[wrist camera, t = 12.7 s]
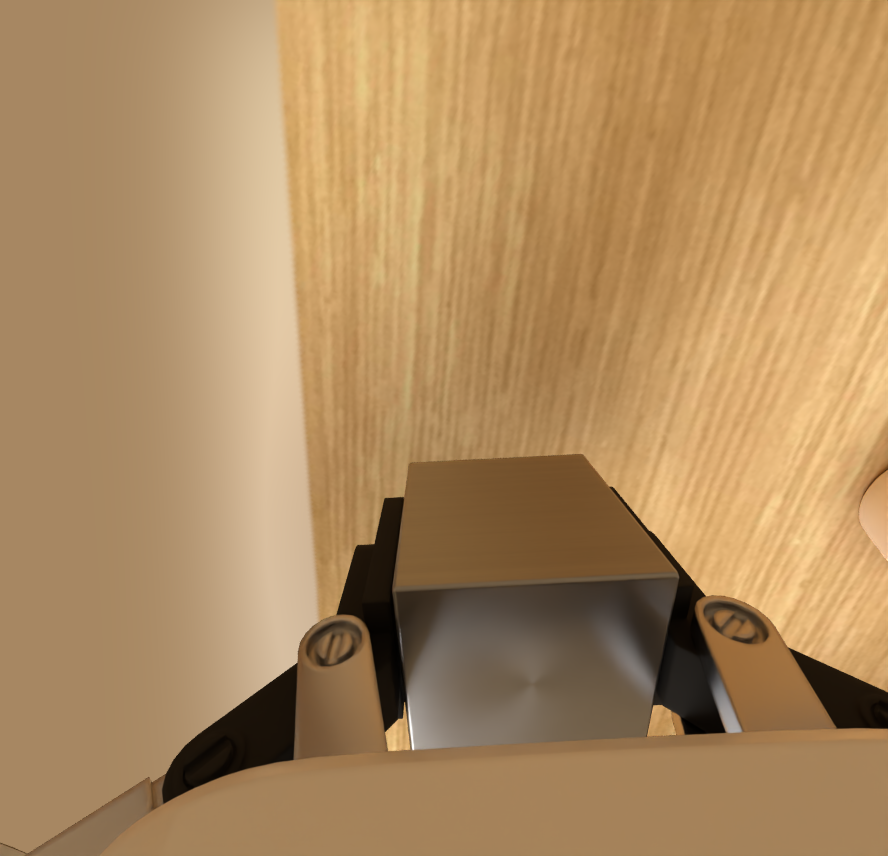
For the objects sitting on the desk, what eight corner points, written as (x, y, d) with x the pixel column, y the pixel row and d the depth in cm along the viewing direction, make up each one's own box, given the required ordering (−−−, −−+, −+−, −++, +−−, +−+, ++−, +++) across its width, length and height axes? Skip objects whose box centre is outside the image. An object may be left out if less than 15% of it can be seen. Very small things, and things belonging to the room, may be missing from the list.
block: (571, 590, 13) (644, 760, 8) (420, 597, 13) (412, 772, 8) (583, 452, 11) (682, 573, 7) (408, 461, 11) (390, 589, 7)
